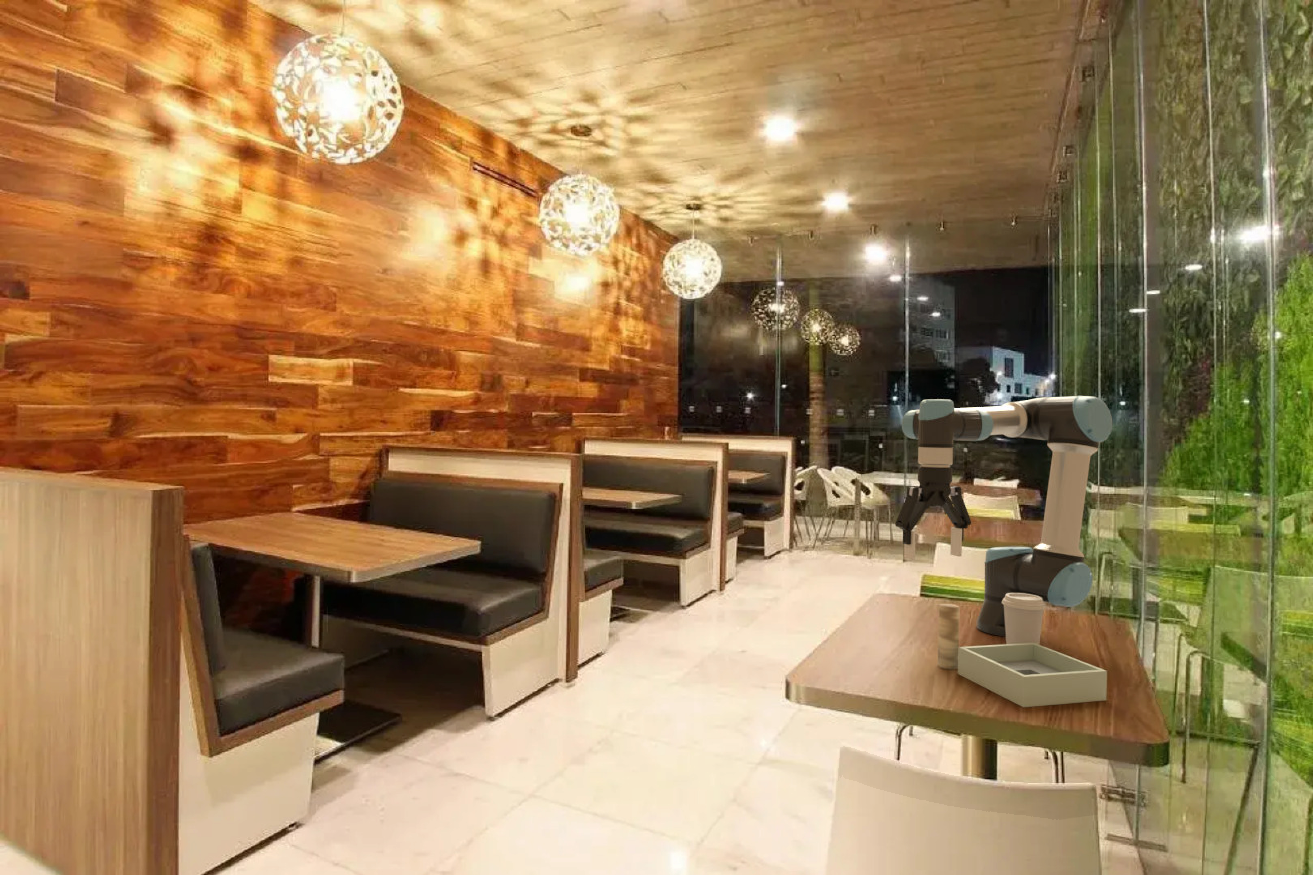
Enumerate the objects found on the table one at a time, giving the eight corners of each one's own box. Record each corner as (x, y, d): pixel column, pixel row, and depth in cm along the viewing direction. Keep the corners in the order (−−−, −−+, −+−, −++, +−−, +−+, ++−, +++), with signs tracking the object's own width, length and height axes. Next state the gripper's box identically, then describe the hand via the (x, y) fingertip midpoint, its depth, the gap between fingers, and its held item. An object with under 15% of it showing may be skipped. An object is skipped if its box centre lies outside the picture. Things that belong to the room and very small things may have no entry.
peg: (949, 662, 172) (951, 603, 171) (962, 669, 167) (963, 607, 167) (933, 664, 170) (935, 604, 170) (945, 670, 166) (947, 608, 166)
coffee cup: (1040, 655, 179) (1042, 594, 179) (1047, 667, 170) (1049, 602, 170) (997, 650, 182) (999, 590, 182) (1002, 661, 173) (1004, 598, 173)
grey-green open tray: (1033, 668, 169) (1033, 642, 169) (1106, 700, 149) (1107, 670, 149) (957, 673, 164) (958, 647, 164) (1023, 707, 144) (1024, 676, 144)
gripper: (964, 464, 178) (962, 551, 178) (880, 465, 169) (878, 557, 169) (988, 466, 171) (986, 557, 171) (902, 467, 162) (900, 562, 162)
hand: (933, 557), depth 170 cm, fingers open, 13 cm apart
